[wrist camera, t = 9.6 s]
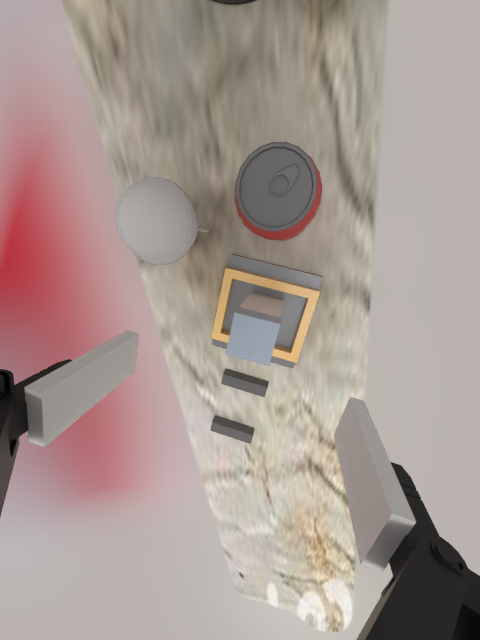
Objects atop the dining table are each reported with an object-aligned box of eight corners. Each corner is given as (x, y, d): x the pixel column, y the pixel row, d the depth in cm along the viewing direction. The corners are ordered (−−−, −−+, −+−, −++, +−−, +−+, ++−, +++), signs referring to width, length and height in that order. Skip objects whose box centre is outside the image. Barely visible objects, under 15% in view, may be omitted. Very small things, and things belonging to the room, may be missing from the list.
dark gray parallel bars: (226, 369, 36) (223, 374, 34) (268, 381, 35) (267, 387, 34) (213, 423, 39) (210, 430, 37) (251, 436, 38) (250, 443, 37)
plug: (251, 291, 32) (234, 312, 22) (284, 299, 31) (280, 324, 22) (244, 321, 33) (225, 353, 23) (275, 330, 32) (269, 365, 23)
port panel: (232, 254, 31) (228, 254, 29) (322, 276, 30) (324, 278, 28) (213, 343, 35) (209, 348, 33) (293, 366, 34) (293, 373, 32)
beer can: (325, 210, 28) (347, 189, 17) (278, 252, 30) (269, 258, 19) (286, 162, 28) (281, 106, 16) (240, 208, 30) (209, 187, 18)
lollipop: (227, 260, 32) (175, 274, 17) (182, 252, 32) (97, 260, 18) (235, 206, 30) (183, 172, 16) (186, 199, 30) (95, 161, 16)
